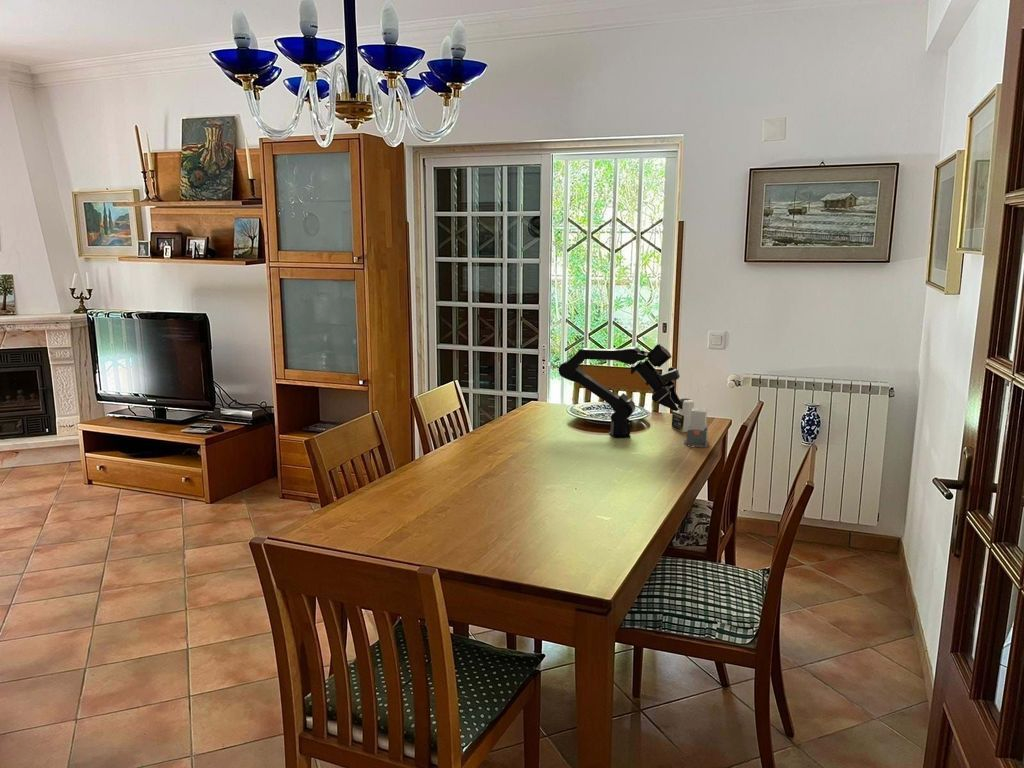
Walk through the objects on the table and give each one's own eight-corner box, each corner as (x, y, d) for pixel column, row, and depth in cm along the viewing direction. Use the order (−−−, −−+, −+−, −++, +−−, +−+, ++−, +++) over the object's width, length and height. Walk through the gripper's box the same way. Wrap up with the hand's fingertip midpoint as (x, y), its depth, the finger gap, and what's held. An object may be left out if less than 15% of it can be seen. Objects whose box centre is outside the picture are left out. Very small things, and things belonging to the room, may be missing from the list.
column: (688, 443, 267) (691, 410, 264) (690, 439, 271) (692, 407, 269) (703, 444, 265) (705, 412, 262) (704, 440, 270) (707, 408, 267)
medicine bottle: (671, 428, 289) (673, 398, 286) (685, 426, 292) (687, 396, 289) (682, 432, 283) (684, 402, 280) (697, 431, 286) (699, 400, 283)
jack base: (682, 446, 266) (683, 430, 264) (685, 439, 274) (686, 424, 273) (708, 449, 263) (709, 433, 261) (710, 442, 271) (711, 427, 270)
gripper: (663, 365, 257) (693, 399, 256) (670, 356, 274) (699, 388, 273) (639, 385, 262) (668, 419, 260) (648, 375, 279) (676, 407, 277)
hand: (679, 407), depth 268 cm, fingers open, 9 cm apart
